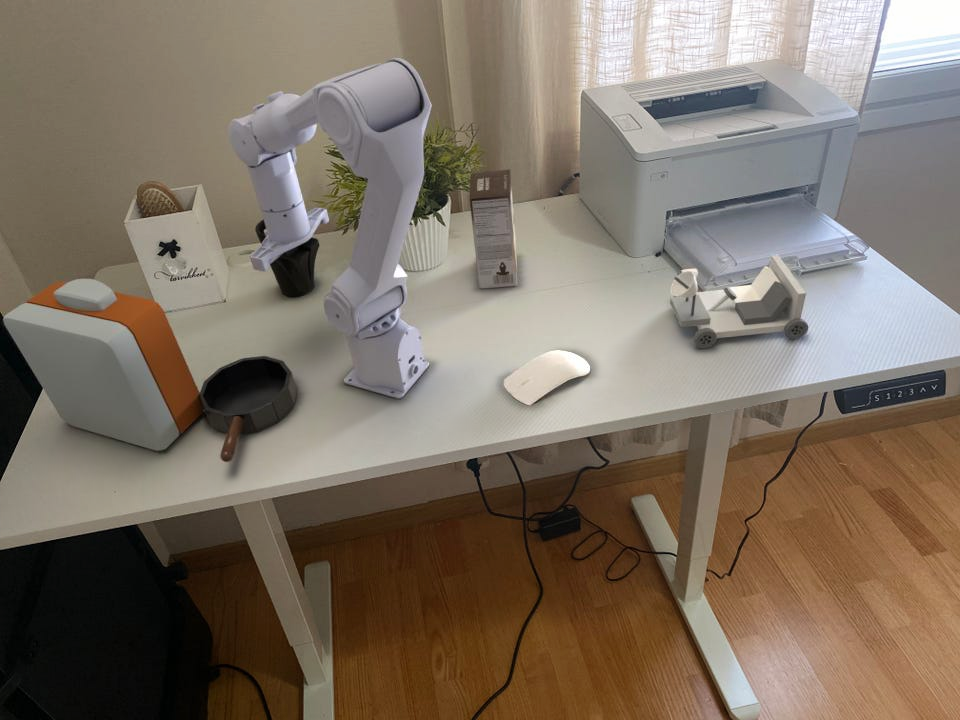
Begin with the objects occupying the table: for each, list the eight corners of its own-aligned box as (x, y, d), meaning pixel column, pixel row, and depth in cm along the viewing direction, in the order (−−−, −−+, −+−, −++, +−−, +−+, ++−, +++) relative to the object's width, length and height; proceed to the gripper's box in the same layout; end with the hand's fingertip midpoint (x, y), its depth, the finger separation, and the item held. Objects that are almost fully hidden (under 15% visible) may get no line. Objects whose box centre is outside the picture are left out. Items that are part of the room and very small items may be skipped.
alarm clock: (210, 411, 100) (155, 284, 87) (165, 456, 94) (99, 325, 81) (110, 385, 107) (45, 263, 94) (62, 425, 100) (-14, 300, 88)
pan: (219, 380, 105) (211, 361, 103) (302, 371, 105) (296, 351, 103) (184, 481, 90) (173, 461, 88) (281, 471, 90) (273, 450, 88)
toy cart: (680, 291, 95) (658, 247, 104) (674, 351, 101) (654, 304, 110) (820, 277, 94) (786, 233, 103) (806, 338, 100) (775, 292, 110)
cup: (311, 301, 119) (292, 236, 112) (267, 300, 121) (246, 235, 113) (327, 276, 125) (311, 212, 118) (286, 275, 127) (267, 212, 119)
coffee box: (479, 260, 125) (469, 171, 115) (516, 257, 124) (510, 167, 114) (478, 289, 117) (468, 197, 107) (518, 286, 117) (512, 194, 107)
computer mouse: (497, 381, 99) (496, 368, 98) (568, 348, 104) (568, 335, 102) (525, 409, 94) (524, 395, 93) (599, 372, 99) (599, 359, 97)
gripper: (291, 176, 104) (313, 259, 113) (221, 223, 94) (251, 310, 103) (331, 181, 101) (351, 266, 110) (264, 231, 92) (291, 320, 100)
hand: (305, 288), depth 106 cm, fingers closed
